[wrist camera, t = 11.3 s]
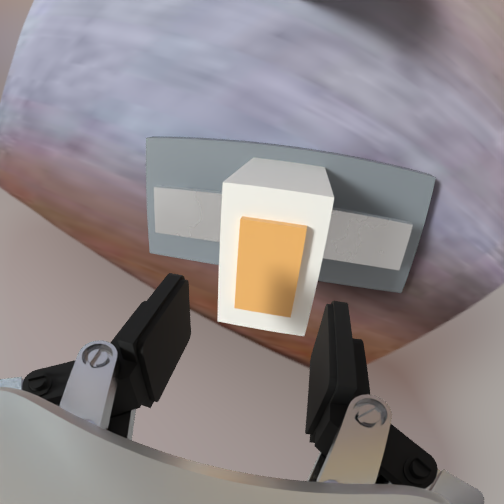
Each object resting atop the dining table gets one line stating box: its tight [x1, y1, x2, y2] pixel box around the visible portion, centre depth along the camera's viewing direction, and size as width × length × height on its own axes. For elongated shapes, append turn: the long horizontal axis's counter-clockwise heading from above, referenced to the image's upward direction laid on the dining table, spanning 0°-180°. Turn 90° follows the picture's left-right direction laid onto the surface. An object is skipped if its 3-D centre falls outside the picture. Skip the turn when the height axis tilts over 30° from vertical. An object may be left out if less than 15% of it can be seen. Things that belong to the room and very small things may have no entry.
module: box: [218, 158, 334, 336], centre depth 18 cm, size 5×8×8 cm, turn 175°
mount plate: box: [146, 137, 436, 293], centre depth 21 cm, size 22×10×4 cm, turn 85°
